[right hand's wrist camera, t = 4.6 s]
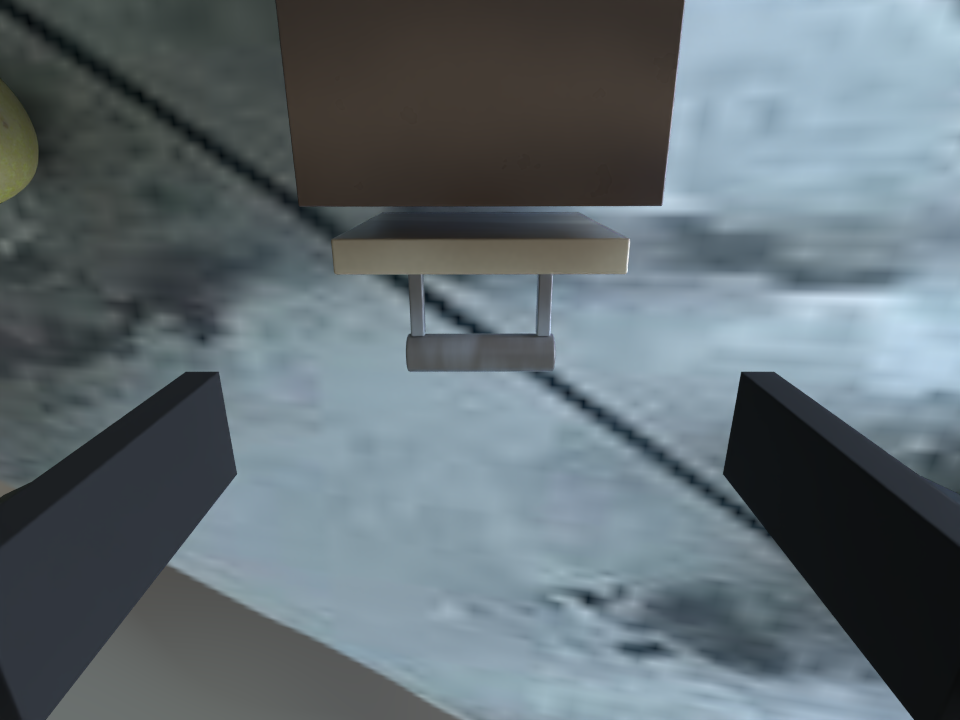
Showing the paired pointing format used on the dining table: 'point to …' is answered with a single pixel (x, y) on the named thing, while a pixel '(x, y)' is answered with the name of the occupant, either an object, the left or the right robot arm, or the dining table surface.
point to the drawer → (480, 250)
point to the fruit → (15, 145)
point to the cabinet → (480, 101)
